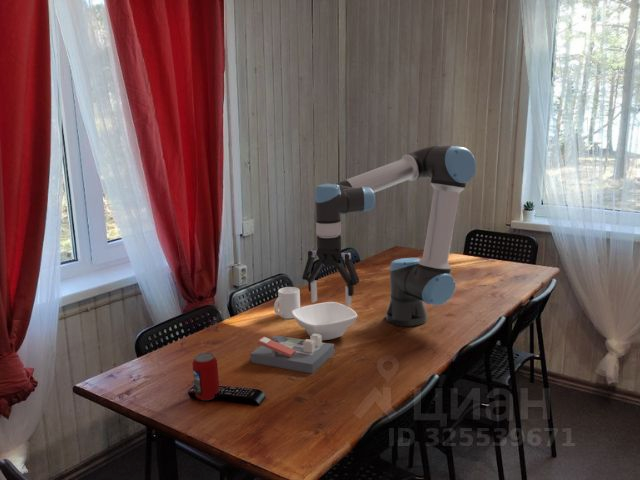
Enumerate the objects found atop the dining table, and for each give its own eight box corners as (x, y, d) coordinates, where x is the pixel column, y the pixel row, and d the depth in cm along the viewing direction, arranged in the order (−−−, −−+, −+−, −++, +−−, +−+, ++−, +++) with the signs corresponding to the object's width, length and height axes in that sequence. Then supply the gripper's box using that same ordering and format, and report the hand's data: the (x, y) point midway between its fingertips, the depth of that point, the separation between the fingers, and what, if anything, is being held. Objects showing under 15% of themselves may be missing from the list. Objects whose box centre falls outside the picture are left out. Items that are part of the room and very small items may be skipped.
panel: (334, 352, 185) (333, 339, 184) (312, 373, 171) (312, 359, 170) (275, 343, 195) (275, 331, 194) (250, 362, 181) (249, 349, 180)
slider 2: (322, 343, 184) (321, 334, 184) (318, 346, 182) (318, 336, 181) (313, 342, 186) (313, 332, 185) (310, 345, 184) (310, 335, 183)
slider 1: (315, 349, 180) (314, 339, 179) (311, 352, 178) (311, 342, 177) (306, 348, 181) (306, 338, 180) (303, 351, 179) (302, 341, 178)
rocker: (295, 352, 178) (296, 349, 178) (290, 357, 175) (290, 354, 175) (262, 339, 182) (263, 336, 182) (257, 343, 179) (257, 340, 179)
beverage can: (197, 391, 163) (193, 352, 160) (220, 389, 164) (217, 350, 161) (194, 402, 156) (190, 362, 154) (218, 401, 157) (215, 360, 154)
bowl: (312, 352, 186) (310, 328, 184) (286, 332, 204) (284, 310, 202) (365, 339, 195) (365, 315, 193) (336, 321, 213) (335, 299, 211)
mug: (282, 323, 212) (281, 297, 210) (267, 318, 218) (266, 293, 216) (305, 314, 221) (303, 289, 219) (290, 310, 226) (289, 285, 224)
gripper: (369, 234, 172) (370, 303, 176) (300, 230, 182) (303, 295, 186) (360, 240, 165) (361, 311, 170) (289, 235, 175) (292, 302, 180)
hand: (331, 303), depth 178 cm, fingers open, 11 cm apart
